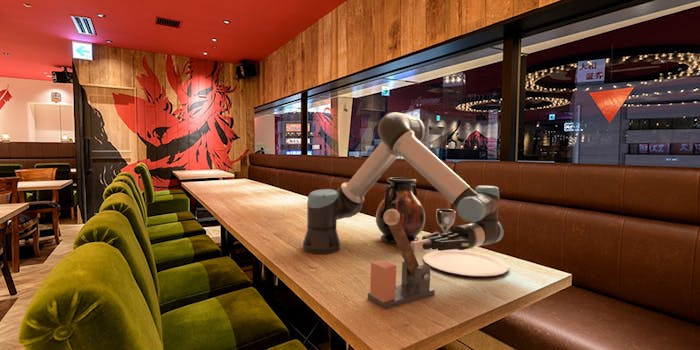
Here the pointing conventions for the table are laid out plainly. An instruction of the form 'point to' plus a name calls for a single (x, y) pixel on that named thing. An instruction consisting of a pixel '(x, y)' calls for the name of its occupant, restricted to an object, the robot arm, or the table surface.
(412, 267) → the lever
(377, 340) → the table surface
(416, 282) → the press base
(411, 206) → the amphora vase
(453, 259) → the plate
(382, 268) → the stop block
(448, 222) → the wine glass
